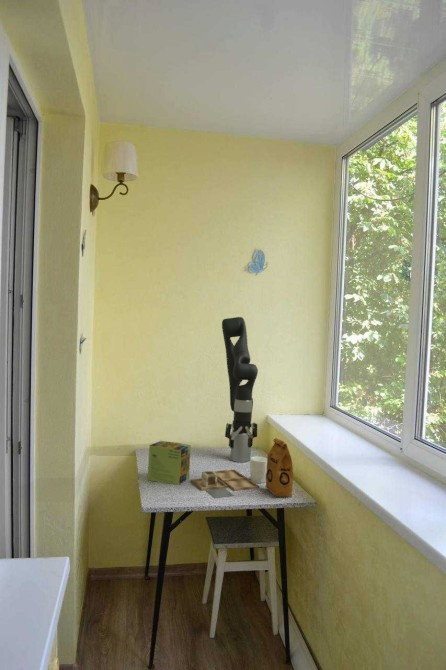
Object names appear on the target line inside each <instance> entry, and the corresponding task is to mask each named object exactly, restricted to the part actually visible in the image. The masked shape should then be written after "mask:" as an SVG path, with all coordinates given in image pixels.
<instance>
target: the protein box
mask: <svg viewBox="0 0 446 670" xmlns="http://www.w3.org/2000/svg"><path fill="white" fill-rule="evenodd" d="M191 448H192V447H191V444H187V443H181V442H180V443H179V442H174V441H167V440H159V441H156V442H154V443H152V444H149V450H148V465H147V466H148V467H147V468H148V470H147V481H151V482H156V483H158V482H159V483H166V484H169V485H170V484H171V485H178V486H180V485H181V484H183V483H185V482H187V480H189V479H190V463H191Z"/></svg>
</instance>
